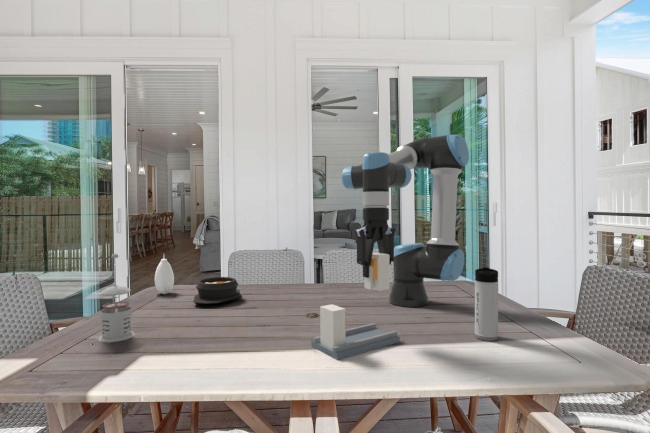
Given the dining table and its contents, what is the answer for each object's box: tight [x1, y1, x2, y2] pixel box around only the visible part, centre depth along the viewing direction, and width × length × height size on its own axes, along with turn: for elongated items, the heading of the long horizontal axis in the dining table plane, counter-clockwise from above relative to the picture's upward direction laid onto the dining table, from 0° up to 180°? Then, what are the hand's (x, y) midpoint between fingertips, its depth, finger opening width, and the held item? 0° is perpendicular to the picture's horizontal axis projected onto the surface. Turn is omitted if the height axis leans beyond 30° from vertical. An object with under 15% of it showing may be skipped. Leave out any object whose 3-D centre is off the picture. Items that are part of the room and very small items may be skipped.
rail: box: [310, 304, 401, 361], centre depth 111 cm, size 12×22×12 cm, turn 124°
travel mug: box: [474, 266, 499, 342], centre depth 115 cm, size 6×7×20 cm
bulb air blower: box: [154, 253, 175, 295], centre depth 176 cm, size 8×8×18 cm
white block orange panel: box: [366, 252, 390, 292], centre depth 114 cm, size 6×5×10 cm
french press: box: [98, 253, 136, 343], centre depth 119 cm, size 10×12×25 cm
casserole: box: [192, 276, 242, 305], centre depth 163 cm, size 25×19×8 cm
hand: (375, 287), depth 114 cm, fingers closed on white block orange panel, 5 cm apart
